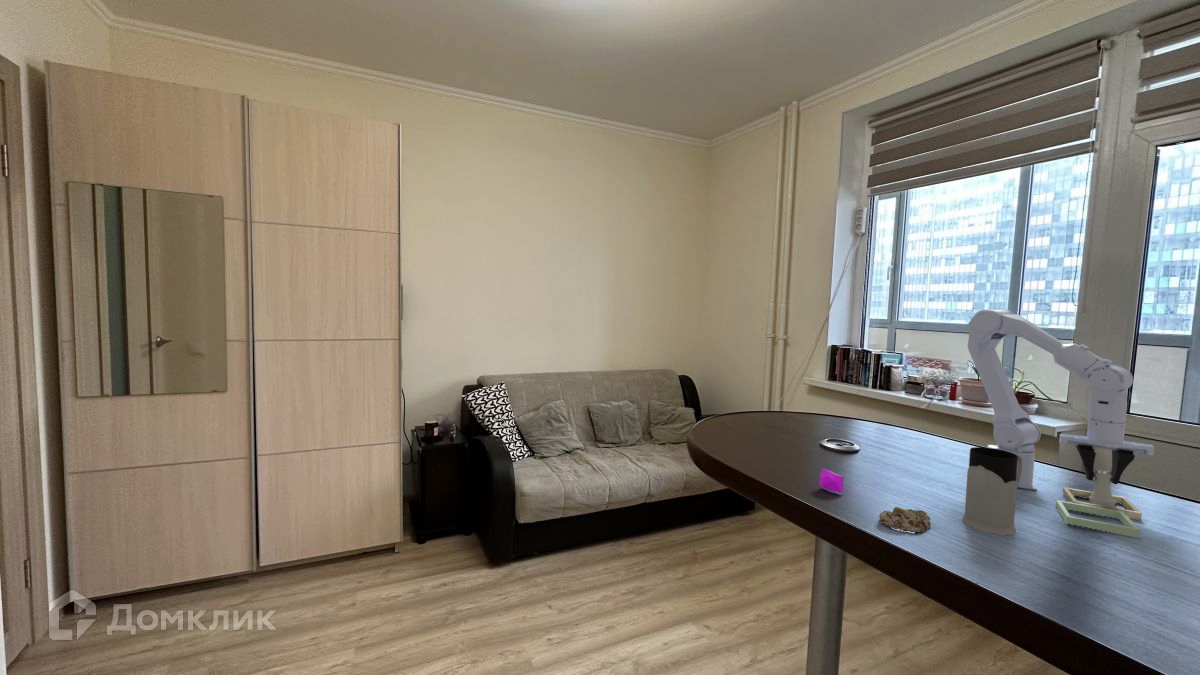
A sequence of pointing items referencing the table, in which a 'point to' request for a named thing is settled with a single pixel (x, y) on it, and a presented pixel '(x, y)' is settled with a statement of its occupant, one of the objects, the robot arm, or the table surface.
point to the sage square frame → (1126, 530)
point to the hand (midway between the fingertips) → (1101, 480)
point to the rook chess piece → (1102, 489)
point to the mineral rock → (906, 519)
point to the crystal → (831, 480)
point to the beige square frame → (1130, 512)
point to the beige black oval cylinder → (992, 490)
